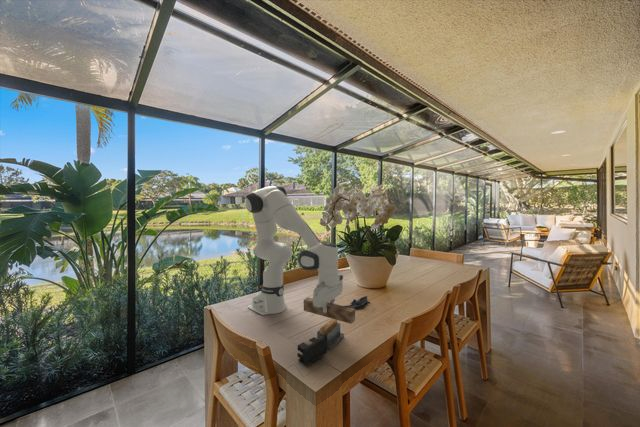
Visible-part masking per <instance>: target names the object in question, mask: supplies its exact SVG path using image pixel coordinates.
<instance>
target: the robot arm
mask: <svg viewBox="0 0 640 427" xmlns="http://www.w3.org/2000/svg"><path fill="white" fill-rule="evenodd" d="M243 201H244V206H245V208H246V209H247V211H248V212H249V213H251V214H252V217H253V222H254V226H255V230H256V233H257V234H256V235H257V240H256V243H255V244H254V246H253V247H254V248H253V254H254V255H255V256H256V257H257V258H259V259H261V260H265V261H268V265H267V267H266V268H265V269H264V270H263V273H262V281H263V283H262V284H261V285H260V286H259V289H260V291H258V292H257V293H256V294H255V295H254V296H252V300H251V301H252V302H251V303H250V304H248V306H247V308H248V309H249V310H251V311H253V312H256V313H257V314H259V315H261V316H266V315H274V314H280V313H282V312H284V311H285V310H287V306H286V302H285V297H284V289H285V288H284V287H285V286H284V268H285V266H286V264H287V263H288V262H289V261H290V259H291V258H292V256H293V249H292V247H291V245H289V244H286V243H285V242H279V241H275V239H274V237H275V236H274V235H275V234H276V233H277V231H278V227H279V228H281V229H283V230H287V231H291V232H293V233H295V234H297V235H299V236H300V238H301V239H302V241H303V242H304V243H305V245H306V246H307V248H304V249H303V250H301V251H300V252H299V253H298V258H297V261H298V265H299V266H300V267H301V269H302V270H304V271H315V270H317V274H318V275H317V282H318V283H317V284H316V286H315V288H314V290H313V293H312V294H313V295H312V298H313V306H315V307H318V308H321V307H322V308H323V312H324V313H327V312H328V308H327V306H326V305H327V303H328V302H329V303H333V304H335V301H336V298H337V297H339V296H340V295H341V294H342V292H343V283H344V282H343V280H344V275H343V274H341V273H339V268H338V266H339V252H338V251H339V250H338V246H337V244H335V243H334V242H331V241H325V240H324V241H321V240H320V239H319V238H318V237H317V235H316V234H315V233H314V231H313V230H312V228H311V227H310V225H309V224H308V223H307V222H306V221H305V220H304V218H302V216H301V215H300V214H299V213H298V211H297V209H296V208H295V207H294V205H293V203H292V202H291V200H290V199H289V198H288V195H287V190H286V189H285V187H284V186H283V185H281V184H273V185H270V186H265V187H262V188H259V189H257V190H255V191H251V192H248V193H247V194H246V195H245V196H244V200H243Z"/></svg>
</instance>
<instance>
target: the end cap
mask: <svg viewBox="0 0 640 427" xmlns="http://www.w3.org/2000/svg"><path fill="white" fill-rule="evenodd" d="M308 341H309V342H310V343H311V344H308V343H305V342H302V343H300V344H298V345H297V351H298V352H297V357H298V358H297V360H298V362H299V363H301V364H302V365H304V366H308V365H310V364H311V363H313V362H315V361H316V360H318V359H319V358H322V357H323V356H324V355H326V354H327V353H328V350H327V344H326V342H325V341H324V340H323V339H320V340H318V339H317V337H311V338H310V339H308Z"/></svg>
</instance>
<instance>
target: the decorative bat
mask: <svg viewBox="0 0 640 427" xmlns="http://www.w3.org/2000/svg"><path fill="white" fill-rule="evenodd" d="M368 303H369V301H368V296H367V295H366V296H363V297H360V298H359V299H353V300H352V301H351V302H350V304H349V305H344V306H345V307H349V308H354V309H356V308H357V309H360V308H363V306H364V305H365V304H368Z"/></svg>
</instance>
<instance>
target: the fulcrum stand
mask: <svg viewBox="0 0 640 427" xmlns="http://www.w3.org/2000/svg"><path fill="white" fill-rule="evenodd" d="M344 336H345V333H343V332H341V323H340V322H338V320H336V319H332V318H330V319H329V321H327V322H326V323H325V324H324V325H322V326H321V327H320V328H319V330H318V331H317V332H316V339H318V340H320V339H323V340H324V341H325V342H326V344H327V351H332V349H334V347H335V346H337V345H338V343H339V342H340V341H342V339H344V338H345V337H344Z"/></svg>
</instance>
